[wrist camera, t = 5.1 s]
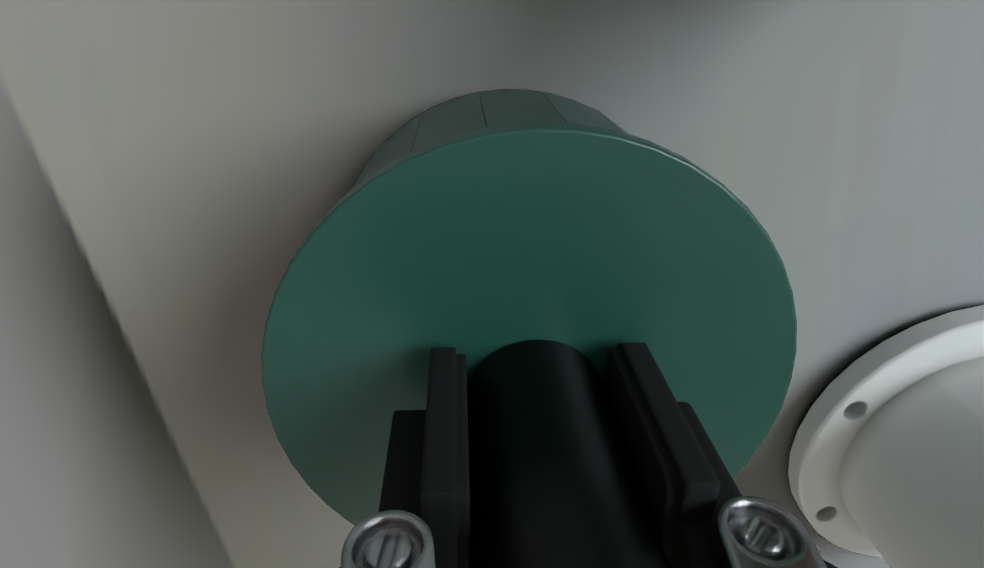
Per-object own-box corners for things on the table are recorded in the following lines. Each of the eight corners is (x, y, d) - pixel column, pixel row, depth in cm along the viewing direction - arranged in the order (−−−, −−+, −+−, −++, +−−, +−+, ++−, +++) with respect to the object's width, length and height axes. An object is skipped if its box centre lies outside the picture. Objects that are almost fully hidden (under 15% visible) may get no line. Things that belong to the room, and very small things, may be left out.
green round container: (464, 5, 15) (468, 15, 10) (738, 218, 19) (865, 322, 13) (282, 299, 19) (206, 434, 13) (537, 433, 22) (565, 587, 17)
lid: (462, -22, 10) (471, -37, 4) (872, 304, 13) (1207, 558, 7) (193, 421, 14) (-5, 748, 8) (564, 580, 17) (621, 888, 11)
